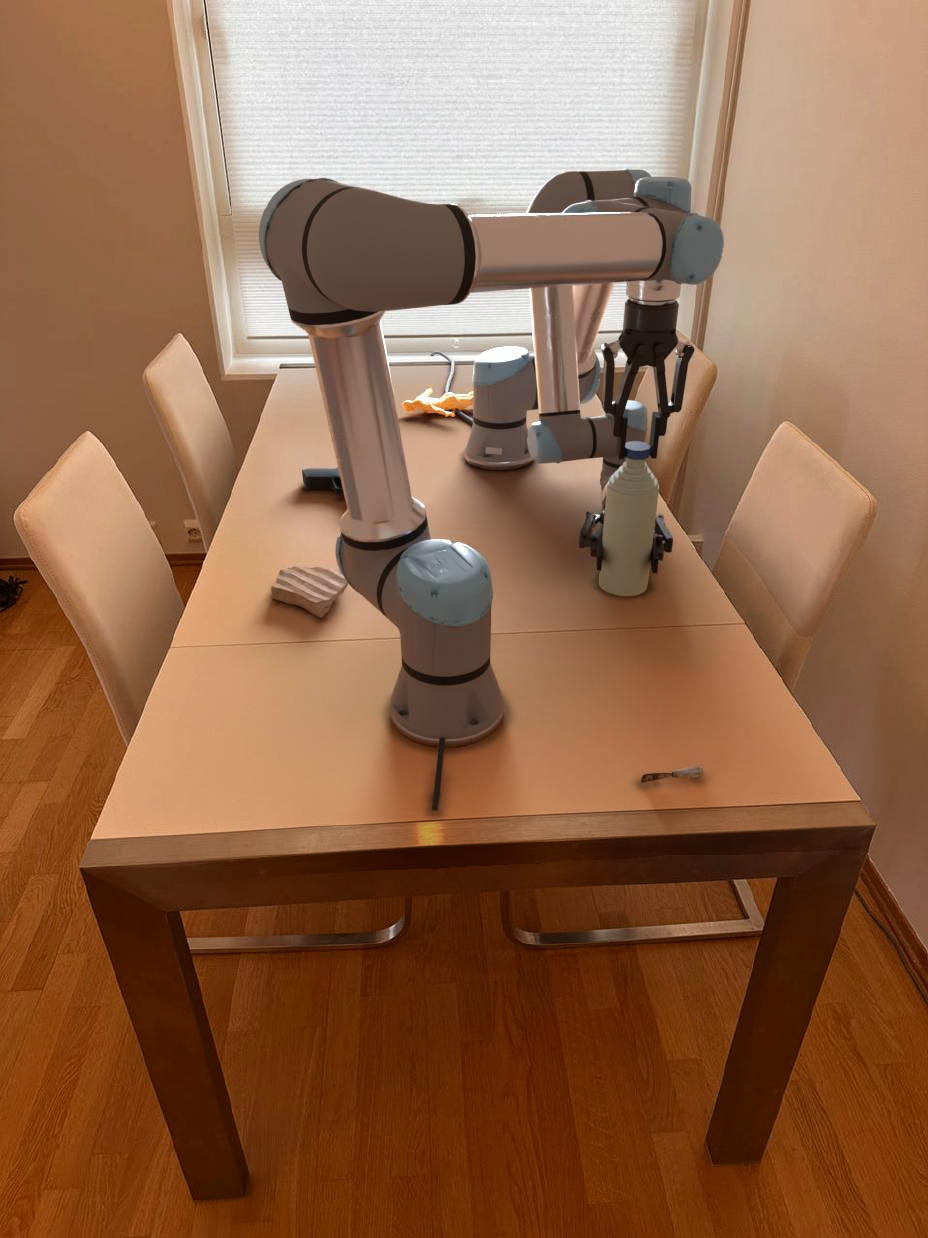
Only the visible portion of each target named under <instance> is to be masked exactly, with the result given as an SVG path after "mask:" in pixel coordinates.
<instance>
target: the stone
mask: <svg viewBox="0 0 928 1238" xmlns="http://www.w3.org/2000/svg"><path fill="white" fill-rule="evenodd" d="M348 586H349V584H348V582H347V581H346V579H345V578H344V576H343V575H342V573H341V571H340V569H335V568H331V567H329V566H314V567H307V566H302V565H301V566H299V565H297V566H295V565H294V566H292V567H282V568H280V569H279V573H278V574H277V577H276V580H275V583H274V584H273V585H272V586H271V587H270V592H271V593H270V598H271V599H274V600H276V601H279V602H283V603H286V604H288V605H294V606H297V607H301V608H303V609H304V610H306V611H308V612H309V613H310V614H312V615H314V616H315V617H317V618H321V619H322V618H323V617H324V616H325V615H326V614H328V613H329V612H330V610H331V607H332V604H333V603H334V601H335V600H337V599H338V597H339V596H340V595H342V594H343V593H344V592H345V590H346V589H347V587H348Z"/></svg>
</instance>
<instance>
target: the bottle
mask: <svg viewBox="0 0 928 1238" xmlns="http://www.w3.org/2000/svg"><path fill="white" fill-rule="evenodd" d="M659 493H660V484H659V481H658V479H657V478H656V477H655V474H654V473H653V472H652V469H651V468H650V467H649V465H648V463H647V462H646V459H643V460H633V459H629V458H626V461H625V462H624V463H623V465H622V466H620V467H619V469H618V470H617V471H615V473H614V474H613V475H612V476H611V477H610V480H609V481H608V483H607V492H606V503H605V515H604V526H603V538H602V554H603V557H602V568H601V571H599V575H598V585H599V587H600V589H601V590H602V591H604V592H605V593H608V594H610V595H614V596H617V597H618V596H619V597H634V596H639V595H641V594H643V593H645V592H646V590H647V589H648V585H649V577H650V570H651V569H650V567H651V552H652V544H653V536H654V532H655V531H654V528H655V519H656V517H657V510H658V501H659Z"/></svg>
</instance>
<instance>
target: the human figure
mask: <svg viewBox="0 0 928 1238" xmlns="http://www.w3.org/2000/svg"><path fill="white" fill-rule="evenodd" d="M424 391H425V392H423V393H422V394H420V395H418V396H416V398H415V399H414V400H404V401H403V402H402V411H404V412H405V413H410V414H412V413H414V412H417V408H418V409H420V410H421V411H423V412H424V413H427V414H439V415H443V416H444V417H449V416H450V417H451V418H452V417H453V418H454V417H455V416H456V414H455V413H456V412H455V411H454V410H455V409H458V410H459V411H462V410H464V409H467V408H469V407H471V406H473V391H470V392H469V393H468V394H460V393H457V394H455V393H453V392H449V393H446V394H445V393H444V394H443V395H442V396H441V397H440V398H434V397H429V396H430V395H432V394H433V392H434V391H433V389H432V385H429V387H428V389H424ZM450 410H452V411H450Z"/></svg>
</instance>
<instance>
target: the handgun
mask: <svg viewBox="0 0 928 1238" xmlns="http://www.w3.org/2000/svg"><path fill="white" fill-rule="evenodd" d="M301 476H302V482H303V485H304V487H305V490H333V492H334V493H335V495H337V496H338V495H344V491H343V487H342V482H341V478H340V474H339V469H338V466H337V467H336V468H332V467H331V468H329V467H327V468H326V467H325V468H323V467H313V468H312V467H311V468H304V469H301Z"/></svg>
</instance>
